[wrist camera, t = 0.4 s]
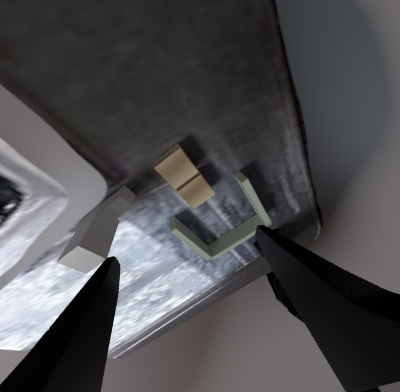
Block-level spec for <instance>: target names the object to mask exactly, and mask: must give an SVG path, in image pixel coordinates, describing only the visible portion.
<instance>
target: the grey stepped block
mask: <svg viewBox="0 0 400 392" xmlns="http://www.w3.org/2000/svg"><path fill="white" fill-rule="evenodd" d="M134 199H135V194H134V193H133V192H132V191H131V190H129V189H128V188H127V187H126V186H123V187H122V188H121V189H120V190H118V191H117V192H116V193H114V194H113V195H112V196H111V197H109V198H108V199H107V200H106V201H104V202H103V203H102V204H100V205H99V206H98V207H97V208H95V209H94V210H93V211H92V212H90V213H89V214H88V215H87V216H85V217H84V218H83V219H81V220H80V221H79V223H78V224H77V226H76V228H75V229H74V231H73V232H72V234H71V236H73V237H72V238H71V240H70V241H69V243H68V245H67V246H66V248H65V249H64V251H63V252H62V254H61V256H60V257H59V259H58V260H57V263H59V264H62V265H65V266H67V267H70V268H73V269H75V270H78V271H81V272H83V273H88V272H89V271H91V270H92V269H93V268H95V267H96V266H98V265H99V264H100V263H102V262H103V261H105V259H106V258H107V256H108V253H109V250H110V247H111V244H112V241H113V238H114V235H115V232H116V229H117V226H118V223H119V220H117V218H118V217H119V216H121V215H122V214H123V213H125V212H126V211H127V210H129V209H130V208H131V207H133V203H134Z"/></svg>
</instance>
